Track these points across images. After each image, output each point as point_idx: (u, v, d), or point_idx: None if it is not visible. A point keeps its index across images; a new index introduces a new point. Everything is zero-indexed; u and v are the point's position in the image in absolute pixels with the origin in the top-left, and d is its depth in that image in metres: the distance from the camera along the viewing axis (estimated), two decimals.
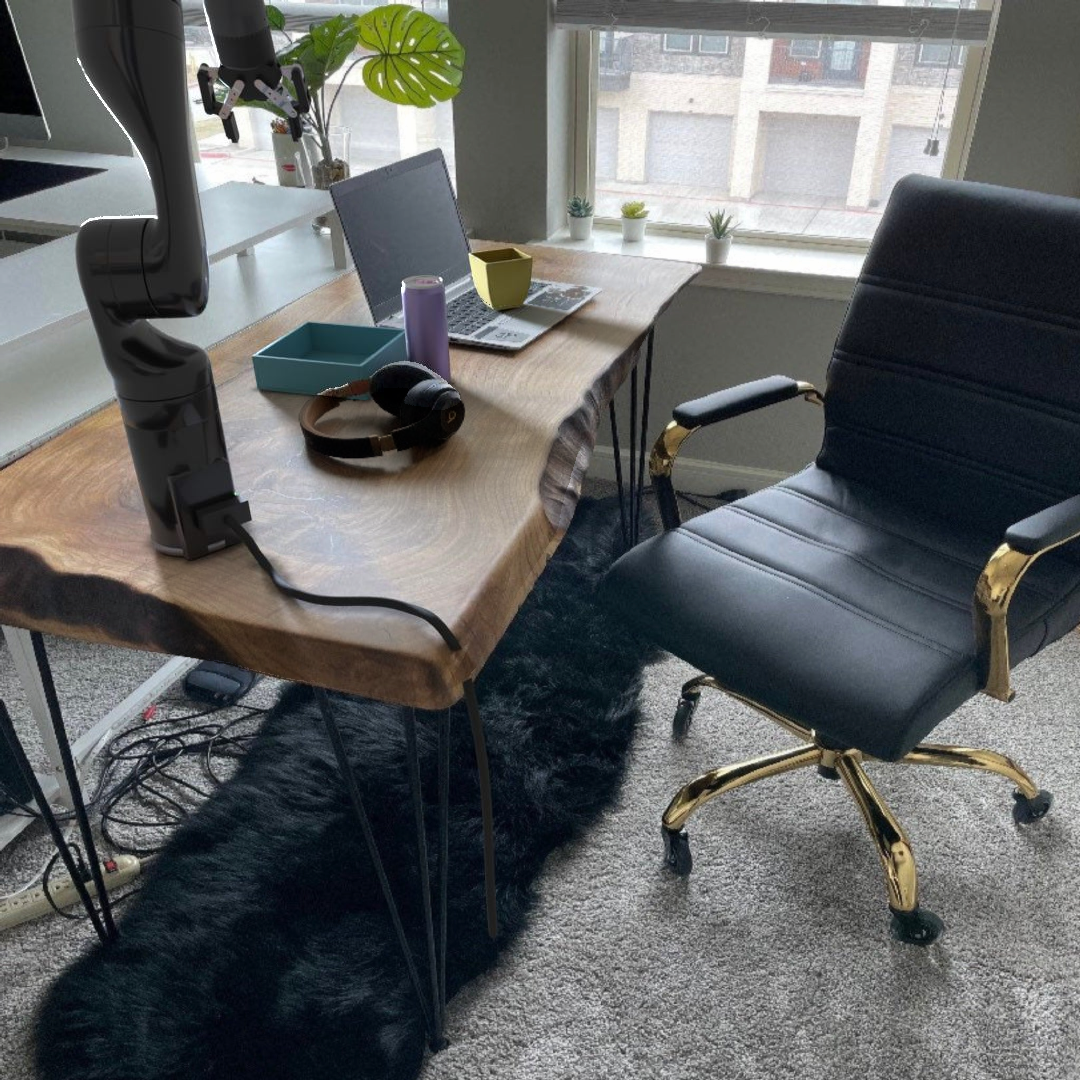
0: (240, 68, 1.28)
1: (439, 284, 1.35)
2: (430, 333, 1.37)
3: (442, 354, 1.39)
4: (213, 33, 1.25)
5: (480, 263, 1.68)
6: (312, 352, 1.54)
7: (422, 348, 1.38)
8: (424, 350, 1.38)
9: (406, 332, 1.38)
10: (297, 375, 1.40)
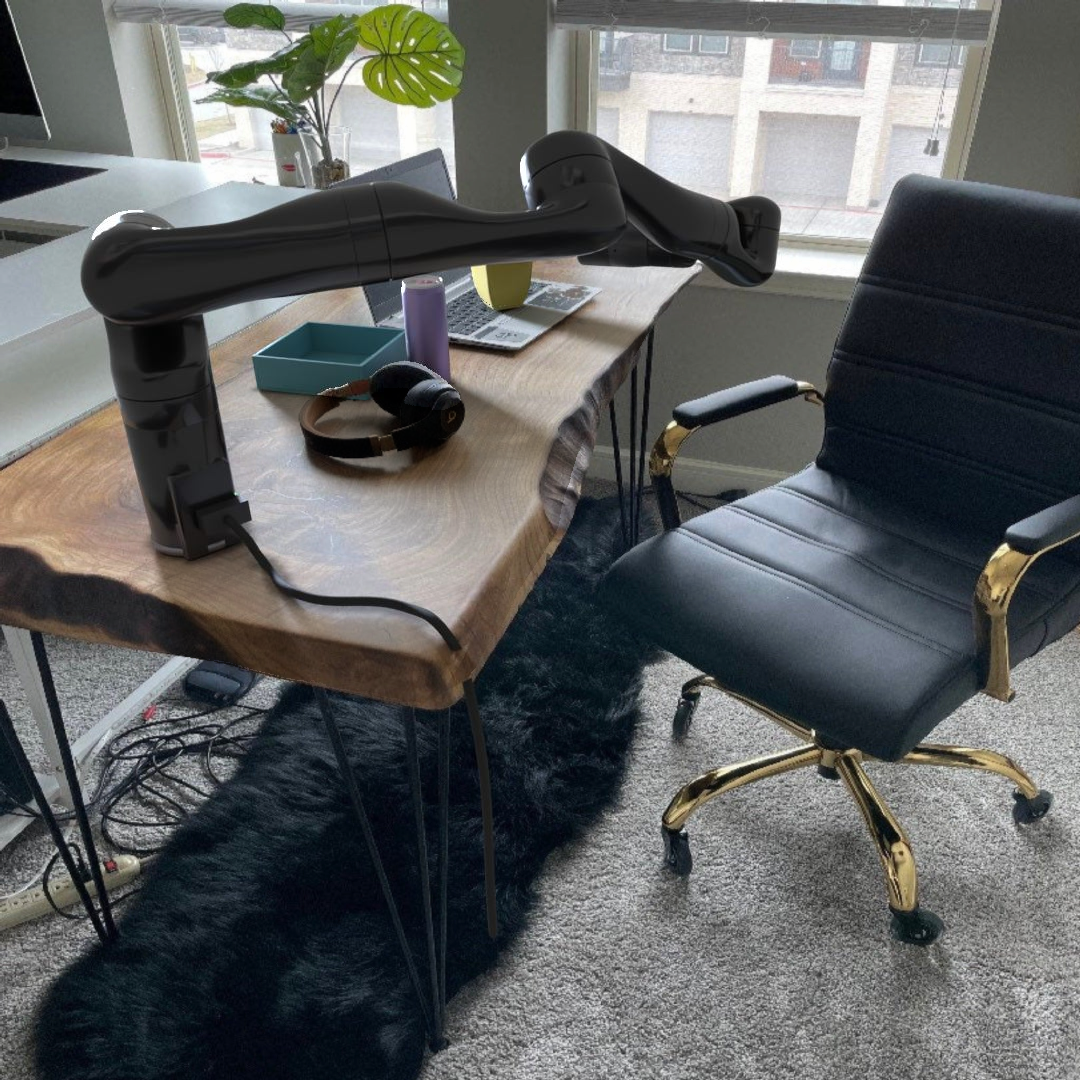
0: None
1: (439, 284, 1.35)
2: (430, 333, 1.37)
3: (442, 354, 1.39)
4: (609, 261, 1.24)
5: None
6: (312, 352, 1.54)
7: (422, 348, 1.38)
8: (424, 350, 1.38)
9: (406, 332, 1.38)
10: (297, 375, 1.40)
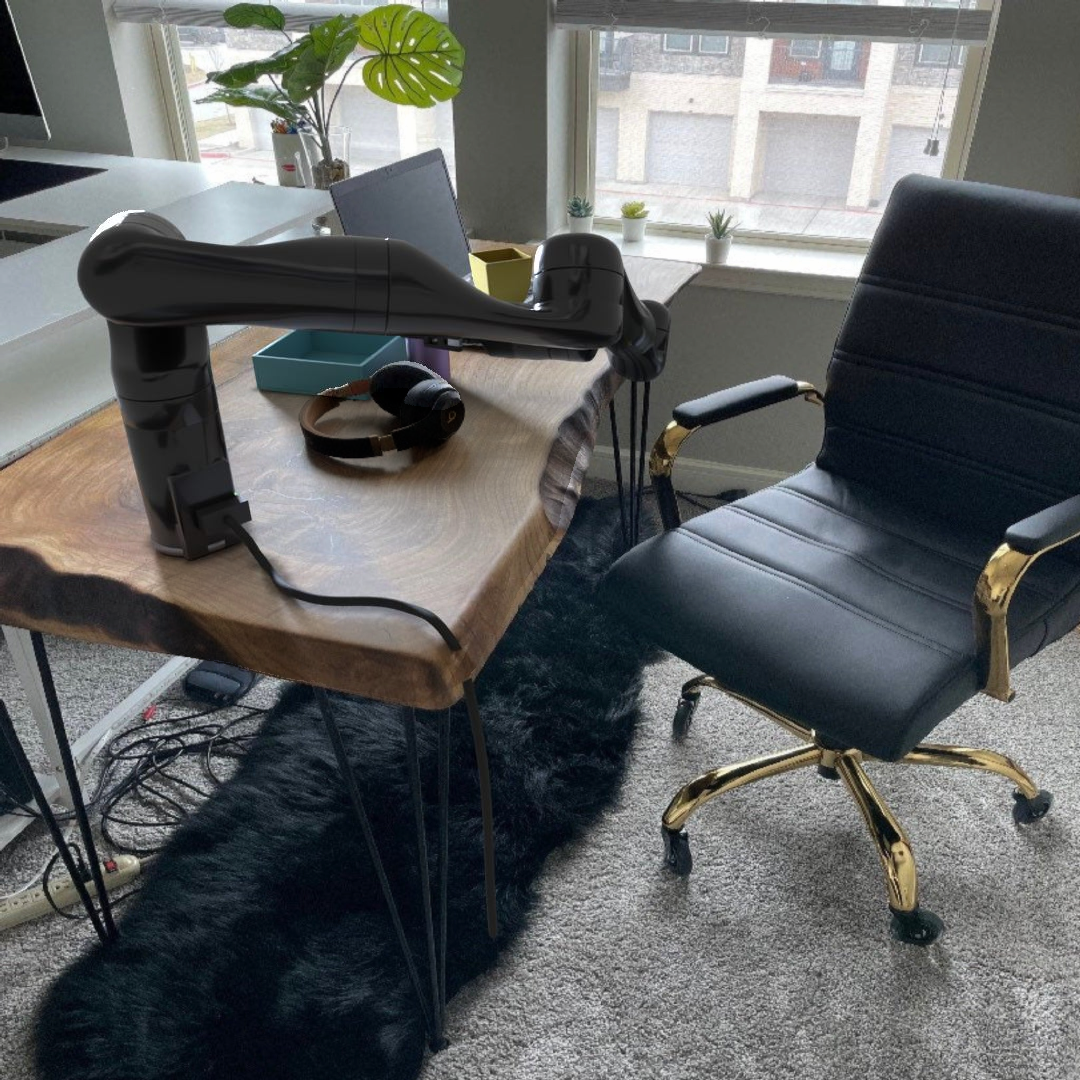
0: None
1: None
2: None
3: (442, 354, 1.39)
4: (514, 355, 1.34)
5: (480, 263, 1.68)
6: (312, 352, 1.54)
7: (422, 348, 1.38)
8: (424, 350, 1.38)
9: None
10: (297, 375, 1.40)
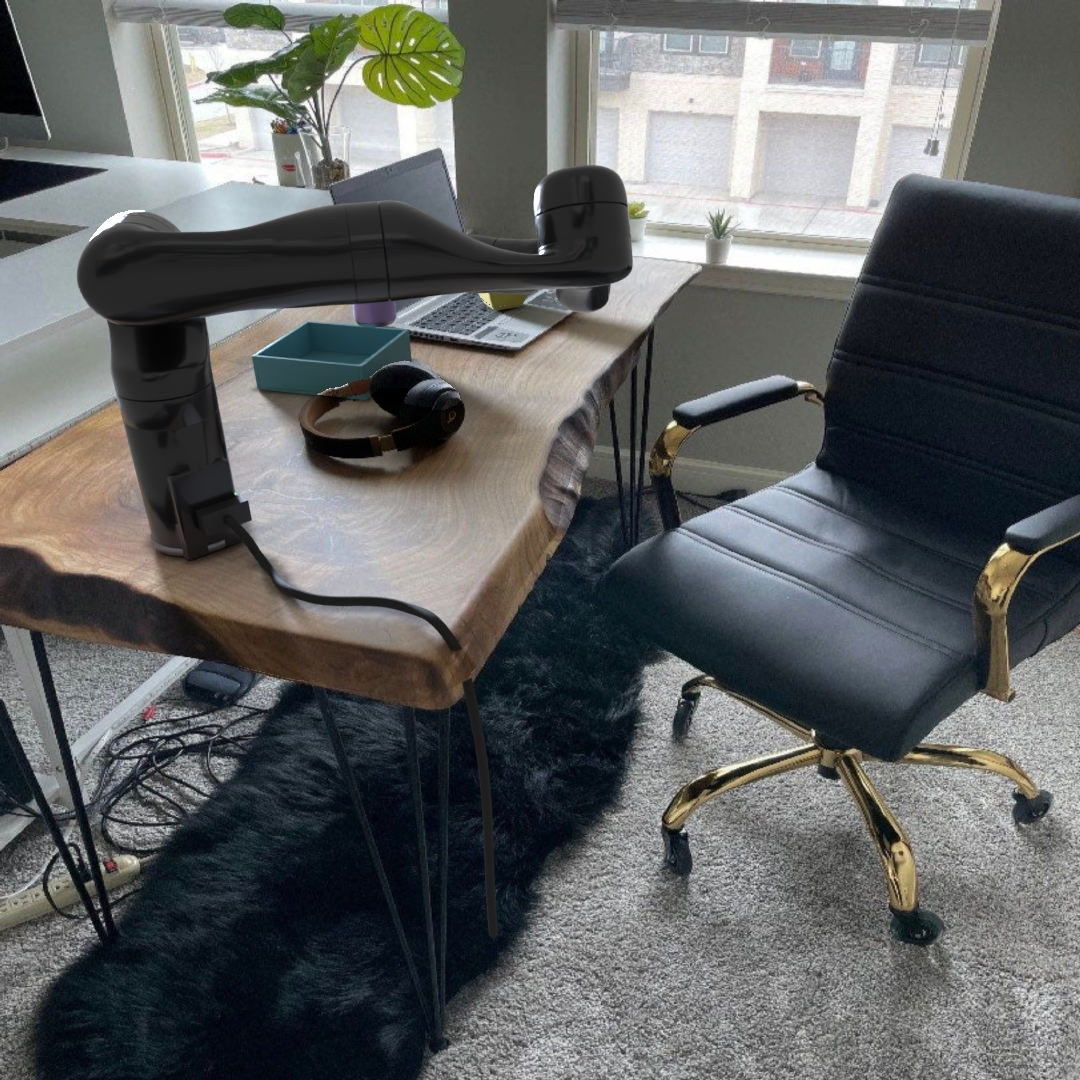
0: None
1: None
2: None
3: None
4: None
5: None
6: (312, 352, 1.54)
7: None
8: None
9: None
10: (297, 375, 1.40)
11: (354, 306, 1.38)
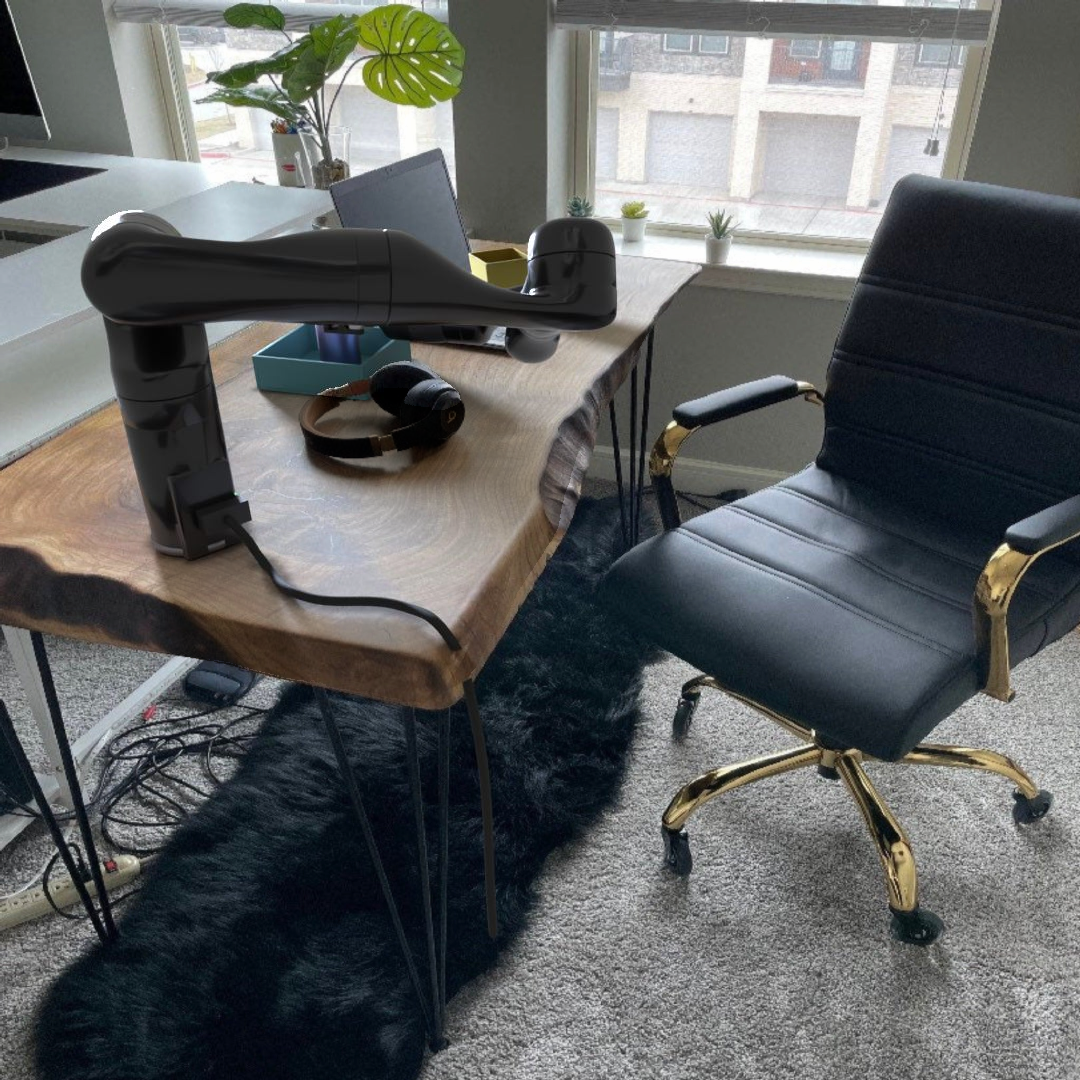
0: None
1: None
2: None
3: (350, 340, 1.43)
4: (411, 337, 1.37)
5: (480, 263, 1.68)
6: (312, 352, 1.54)
7: (329, 334, 1.42)
8: (331, 336, 1.42)
9: None
10: (297, 375, 1.40)
11: (320, 355, 1.45)
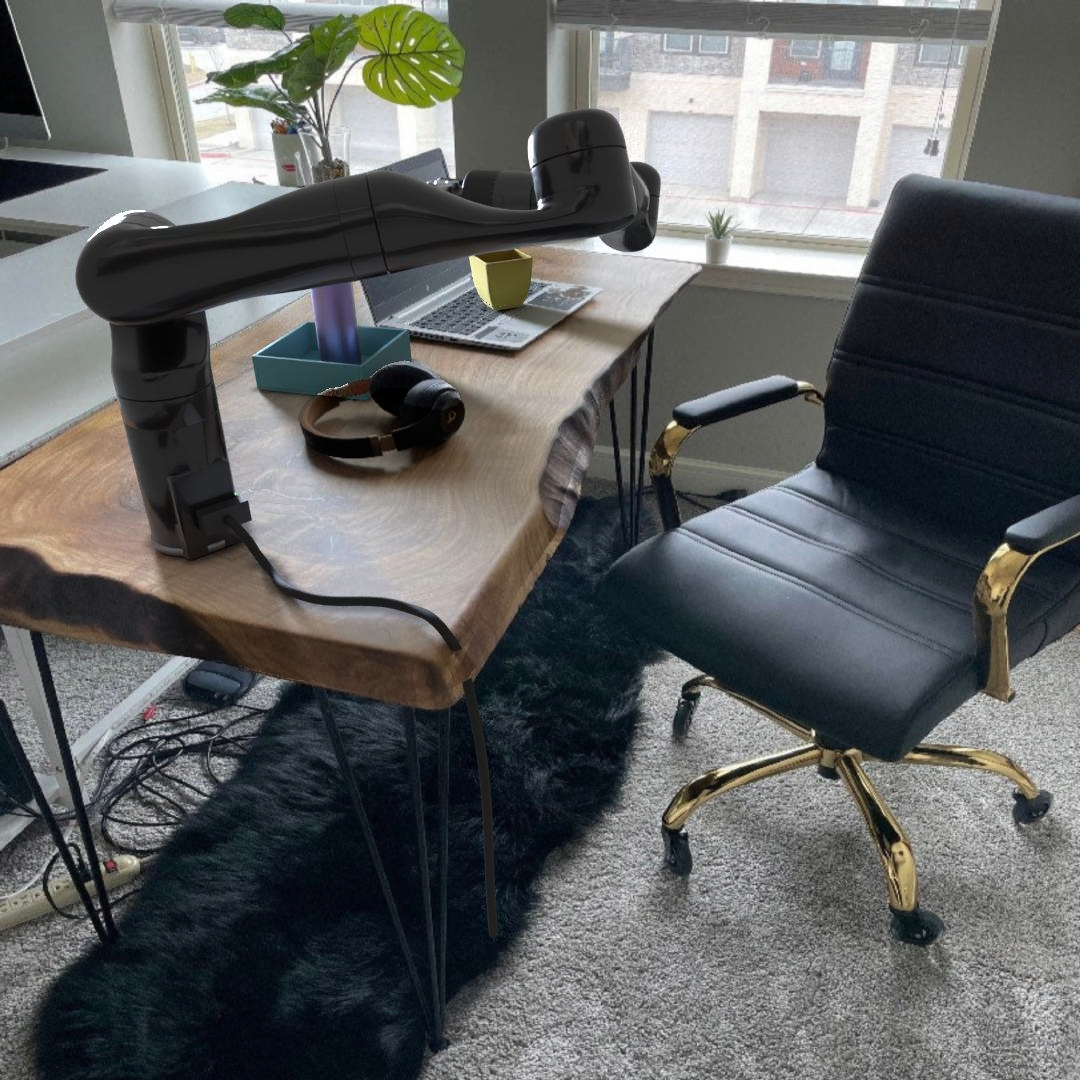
0: None
1: None
2: (337, 319, 1.41)
3: (350, 340, 1.43)
4: None
5: (480, 263, 1.68)
6: (312, 352, 1.54)
7: (329, 334, 1.42)
8: (331, 336, 1.42)
9: (315, 318, 1.43)
10: (297, 375, 1.40)
11: (320, 355, 1.45)
